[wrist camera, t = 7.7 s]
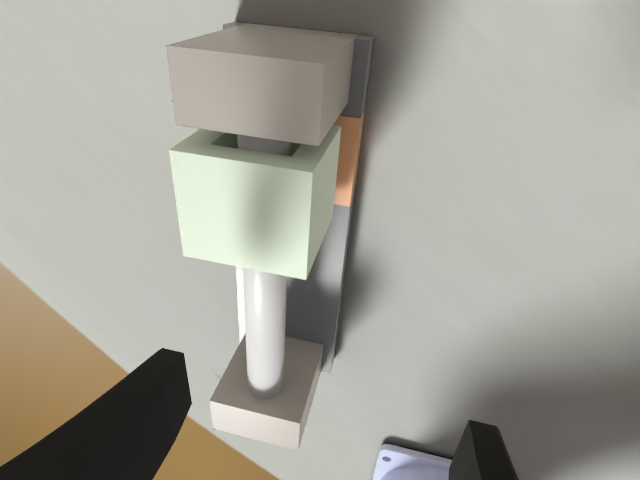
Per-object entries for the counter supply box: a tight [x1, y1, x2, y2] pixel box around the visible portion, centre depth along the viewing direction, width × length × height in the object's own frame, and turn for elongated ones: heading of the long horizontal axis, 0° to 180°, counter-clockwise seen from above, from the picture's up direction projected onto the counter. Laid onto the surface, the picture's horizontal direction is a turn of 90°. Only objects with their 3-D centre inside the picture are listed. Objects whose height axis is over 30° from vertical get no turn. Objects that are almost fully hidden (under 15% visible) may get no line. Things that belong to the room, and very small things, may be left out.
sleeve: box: [169, 125, 341, 280], centre depth 14 cm, size 4×4×4 cm
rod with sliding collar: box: [166, 22, 374, 451], centre depth 17 cm, size 16×5×6 cm, turn 176°
